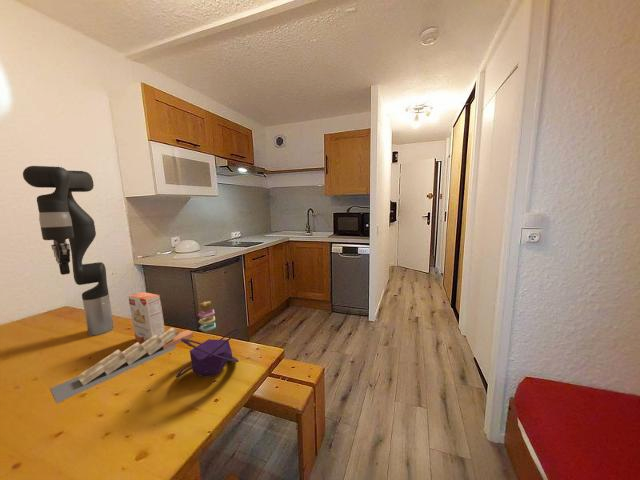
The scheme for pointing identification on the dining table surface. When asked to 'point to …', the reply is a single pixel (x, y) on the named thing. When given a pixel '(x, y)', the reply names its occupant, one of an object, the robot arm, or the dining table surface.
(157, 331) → the cracker box
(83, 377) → the tile
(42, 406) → the dining table surface
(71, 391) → the slate mat
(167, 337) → the tall wooden block
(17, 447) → the dining table surface
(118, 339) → the dining table surface
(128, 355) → the tile
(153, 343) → the tile
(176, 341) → the end tile
